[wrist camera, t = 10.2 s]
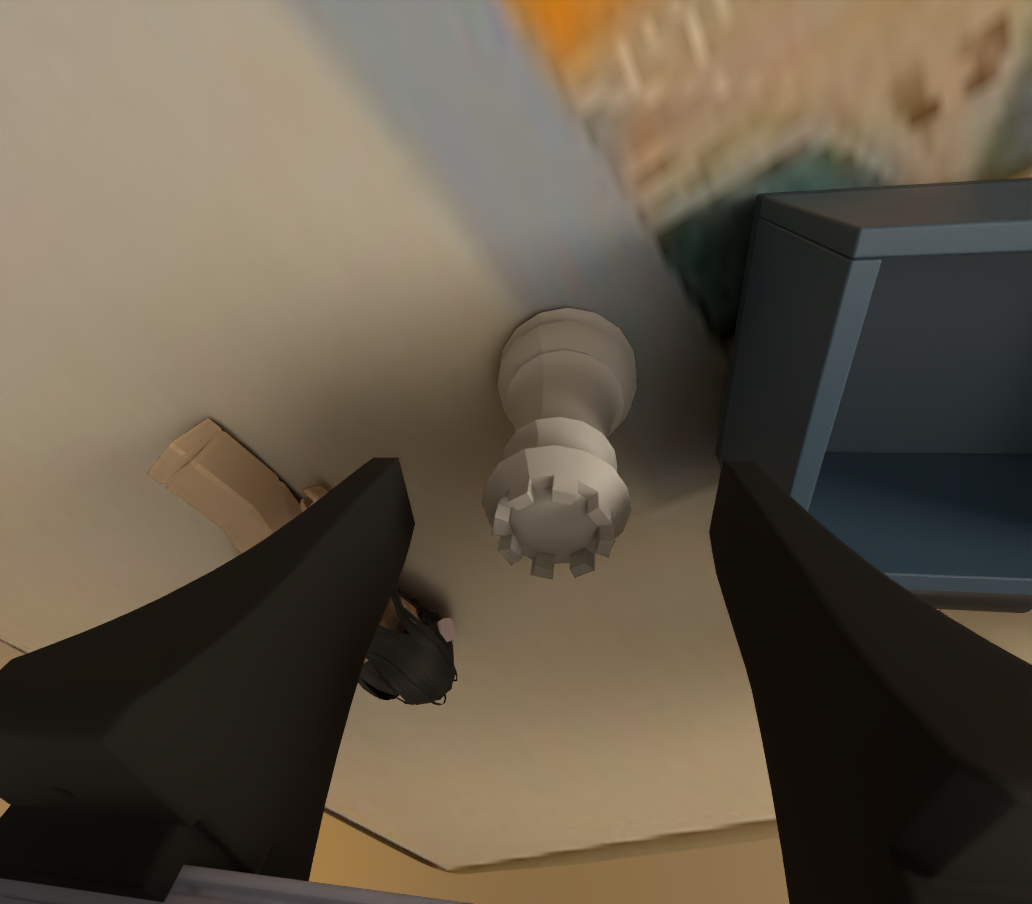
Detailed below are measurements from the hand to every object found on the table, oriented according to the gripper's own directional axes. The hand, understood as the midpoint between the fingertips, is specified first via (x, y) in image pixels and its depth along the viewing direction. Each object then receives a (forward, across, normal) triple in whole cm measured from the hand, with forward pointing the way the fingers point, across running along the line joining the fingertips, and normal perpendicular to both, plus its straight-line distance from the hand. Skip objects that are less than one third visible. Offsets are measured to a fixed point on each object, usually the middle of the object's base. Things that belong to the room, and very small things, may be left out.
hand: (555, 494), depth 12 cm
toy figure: (+7, +11, +9) cm, 16 cm away
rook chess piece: (+7, 0, 0) cm, 7 cm away
